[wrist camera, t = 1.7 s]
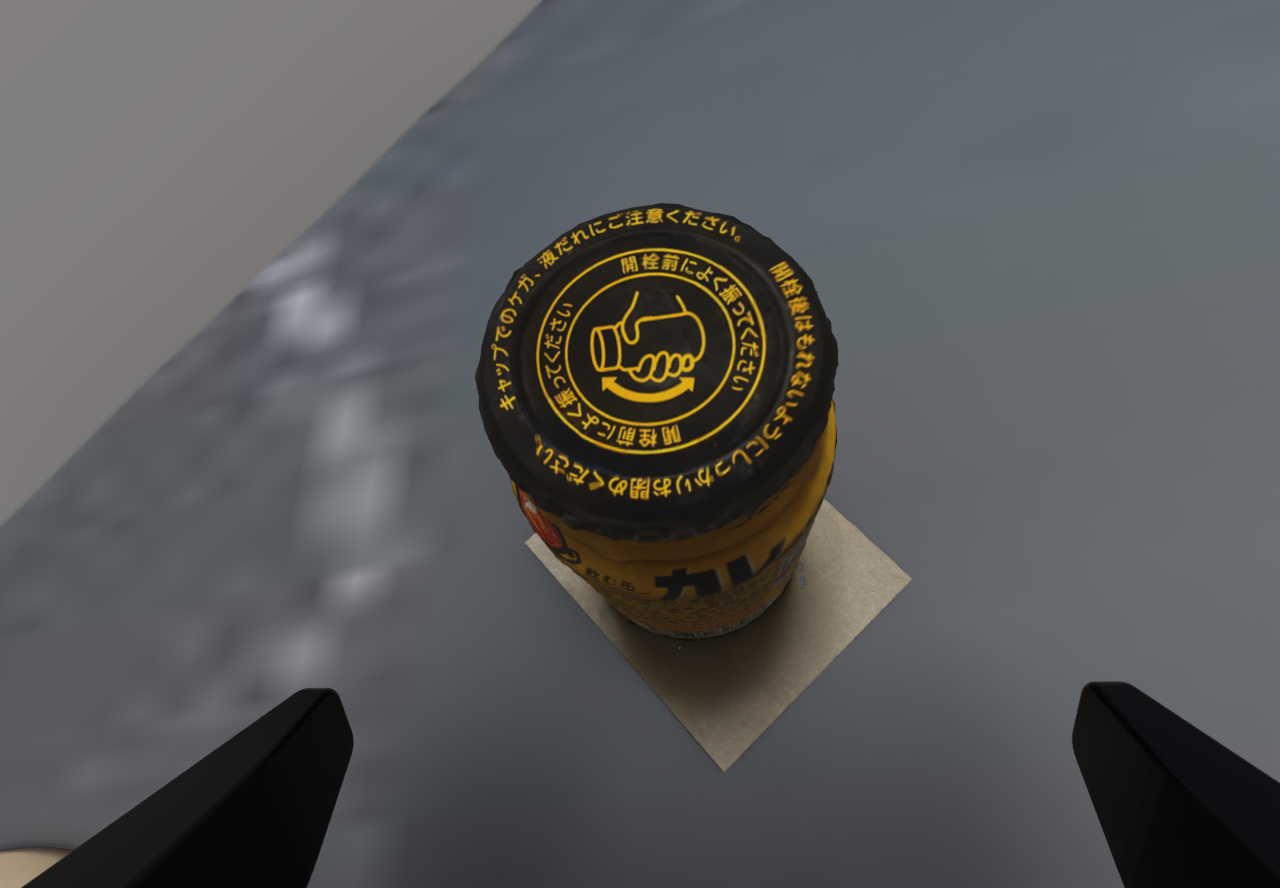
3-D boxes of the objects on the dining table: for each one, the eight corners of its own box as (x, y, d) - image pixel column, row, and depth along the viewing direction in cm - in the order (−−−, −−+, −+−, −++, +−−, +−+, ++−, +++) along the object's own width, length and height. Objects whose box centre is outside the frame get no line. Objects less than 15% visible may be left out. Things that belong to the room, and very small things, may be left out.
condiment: (699, 387, 23) (663, 79, 12) (911, 580, 20) (1136, 421, 9) (526, 544, 22) (302, 373, 10) (724, 771, 19) (707, 870, 8)
